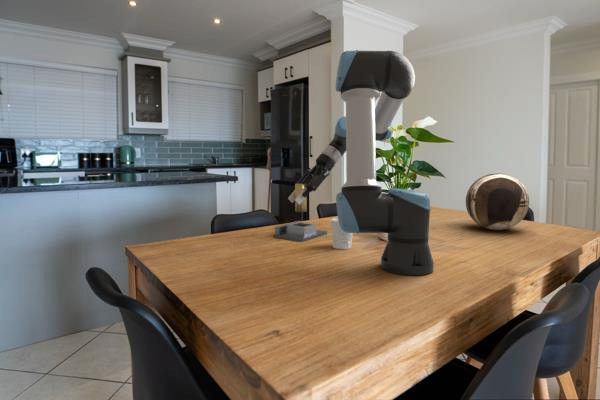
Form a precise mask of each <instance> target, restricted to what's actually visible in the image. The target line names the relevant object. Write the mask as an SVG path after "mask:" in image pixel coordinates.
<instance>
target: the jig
mask: <svg viewBox="0 0 600 400" xmlns="http://www.w3.org/2000/svg"><path fill="white" fill-rule="evenodd" d="M274 228H275V229H274V232H275V233H273V238H277V239H284V240H289V241H293V242H299V243H300V242H302V243H304V242H306V241H309V240H314V239H316V238H319V237H323V236H326V235H327V234H328V231H327V230H321V229H317V224H316V223H315V224H314V223H308V222H303V221H302V220H295V221H293V222H289V223H285V224H284V223H282V224H280V225H276V226H275V227H274Z"/></svg>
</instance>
